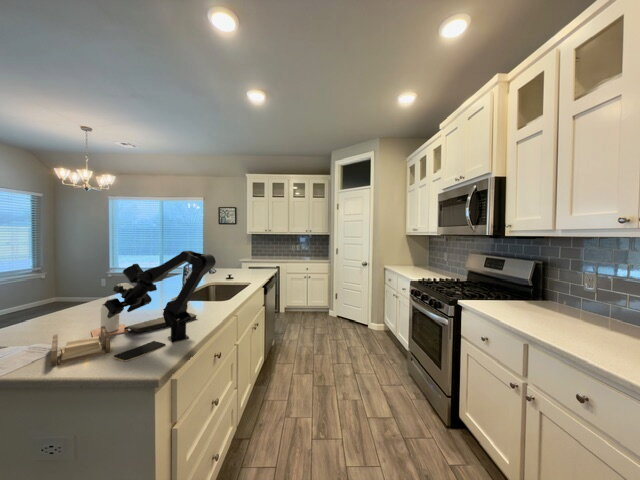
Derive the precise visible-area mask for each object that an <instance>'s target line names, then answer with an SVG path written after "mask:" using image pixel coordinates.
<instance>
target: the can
mask: <svg viewBox="0 0 640 480" xmlns="http://www.w3.org/2000/svg"><path fill="white" fill-rule="evenodd" d="M108 312H109V310H108V309H107V308H106V306H105V305H104V303H102V304H101V307H100V328H101V327H102V326H105V328H106V330H107V332H108V333H110V332H114V331H117V330H118V329H119V325H120V313H119V314H117V315H115V316H113V317H111V318H108V317H107V316H108Z"/></svg>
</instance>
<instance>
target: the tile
mask: <svg viewBox="0 0 640 480" xmlns="http://www.w3.org/2000/svg"><path fill="white" fill-rule="evenodd" d="M125 327H127V326H126V325H125V323H124V324H119V329H118V330H117V331H114V332H110V333H108V335H109V337H112V336H116V335H123V334H125V333H126V334H128V333H129V330H130V329H126V330H124V328H125ZM90 332H91V335H92V336H91V337H97V336H99V339H101V327H100V328H96V329H91V330H90Z"/></svg>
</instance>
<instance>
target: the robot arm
mask: <svg viewBox="0 0 640 480" xmlns="http://www.w3.org/2000/svg"><path fill="white" fill-rule="evenodd" d="M216 262H217V261H216V258H215V256H214V255H212V254H209V253H208V254H207V253H206V254H205V253H200V252H196V251H192V250H183V251H181V252H180V253H179V254H177V255H175V256H174V257H172V258H170V259H168V260H166V261H165V262H164V263H162V264H161V265H157V266H155V267H151V268H149V269H146V270H143V269H142V267H140V265H139V263H133V264H131V265H129V266H128V267H126V268H125V269H123V270H122V274H123V275H124V276H125V278H126V279H127V280H128V282H130V283H131V284H130V283H128V282H121V283H118V284H116V285H115V286H114V287H113V289H112V290H113V292H114V293H117V294H120V295H121V296H120V297H121V298H122V299H123V301H120V300H119V298H110V299H107V300H106V301H105V302H104V303H103V304H104V305H105V306H106V308H107V309H108V310H109V312H108V316H107V317H108V318H111V317H113V316H115V315H117V314H119V315H120V314H121V313H122V312H123V311H124V310H125V308H126V307H128V308H127V309H126V312H127V313H131V312H132V311H135V310H137V309H140V308H142V307H144V306H146V305H149V304H150V303H151V302H153V301H152V299H153V298H152V297H151V295H149V293H152V292H156V291H158V290H157V289H158V288H157V285H156V284H154V283H156V282H157V283H158V282H161V281H162V280H164V279H165V278H166V277H168V274H170V272H172V271H173V270H176V269H177V268H178V267H180V266H182V265H184V264H186V263H187V264H188V265H191V273H190V275H188V278H187V279H186V281H185V284H183V286H182V288H181V290H180V292H179V293H178V294H177V297H176V298H175V299H173V300H169V301H168V302H167V303H166V304H165V308H163V309H162V310H163V313H162V316H163V317H164V320H165V323H166V327H168V328H170V336H167V339H168V340H170V342H172V343H175V342H178V341H183V340H188V339H189V338H190V336H188V334H187V323H188V322H191V320H190V319H191V316H190V315H189V313H190V312H189V311H187V310H188V302H190V299H191V298H192V296H193V294H194V292H195V291H196V289H197V288H198V286H199V284H200V283H201V281H202V280H203V277H204V276H205V275H206V274H208V272H210V271H211V270H212V269H213V268H214V267H215V265H216ZM132 284H135V285H132ZM177 319H179V320H177Z"/></svg>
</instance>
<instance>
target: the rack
mask: <svg viewBox="0 0 640 480" xmlns="http://www.w3.org/2000/svg"><path fill="white" fill-rule="evenodd" d="M100 328H101V338H99V336H97V337H92V336H90V337H87V338H81V339H75V340H70V341H66V344H65V346H62V347H60V352H58V345H59V344H58V340H59V339H58V338H59V337H58V334H53V335H52V343H51V351H50V365H51V367H55V366H57V365H58V366H60V365H65V364H68V363H69V364H70V363H73V362H76V361H82V360H85V359H89V358H93V357H94V358H95V357H98V356H101V355H106V354H110V353H111V338H110V337H111V336H109V335H108V332H107V330H106V328H105V326H102V327H101V326H100ZM100 340H101V341H100ZM101 342H102V343H101Z"/></svg>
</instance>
